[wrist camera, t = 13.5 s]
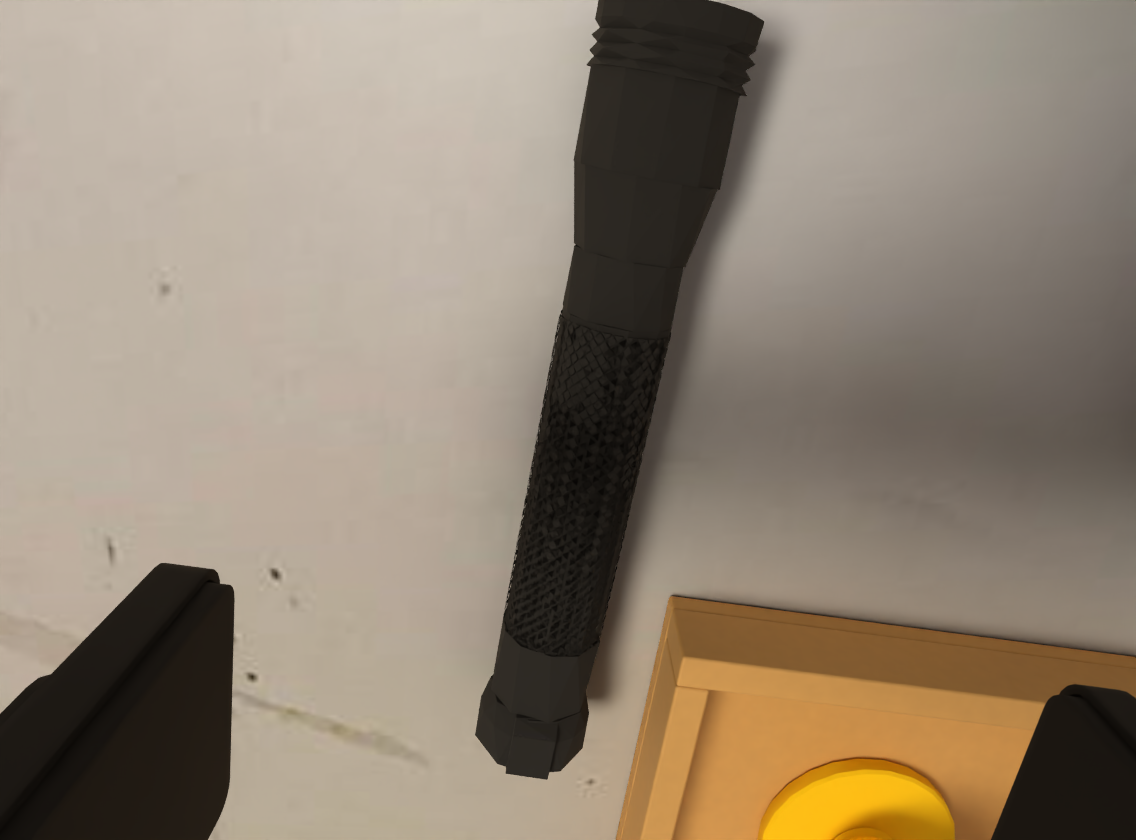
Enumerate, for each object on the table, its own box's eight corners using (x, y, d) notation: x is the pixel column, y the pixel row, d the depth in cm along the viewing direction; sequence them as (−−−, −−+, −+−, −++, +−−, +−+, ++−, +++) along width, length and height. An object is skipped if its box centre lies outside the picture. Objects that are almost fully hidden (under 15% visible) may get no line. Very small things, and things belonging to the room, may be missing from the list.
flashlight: (745, 32, 17) (782, 14, 14) (587, 703, 22) (590, 789, 19) (596, 1, 16) (602, -24, 14) (474, 686, 22) (460, 770, 19)
